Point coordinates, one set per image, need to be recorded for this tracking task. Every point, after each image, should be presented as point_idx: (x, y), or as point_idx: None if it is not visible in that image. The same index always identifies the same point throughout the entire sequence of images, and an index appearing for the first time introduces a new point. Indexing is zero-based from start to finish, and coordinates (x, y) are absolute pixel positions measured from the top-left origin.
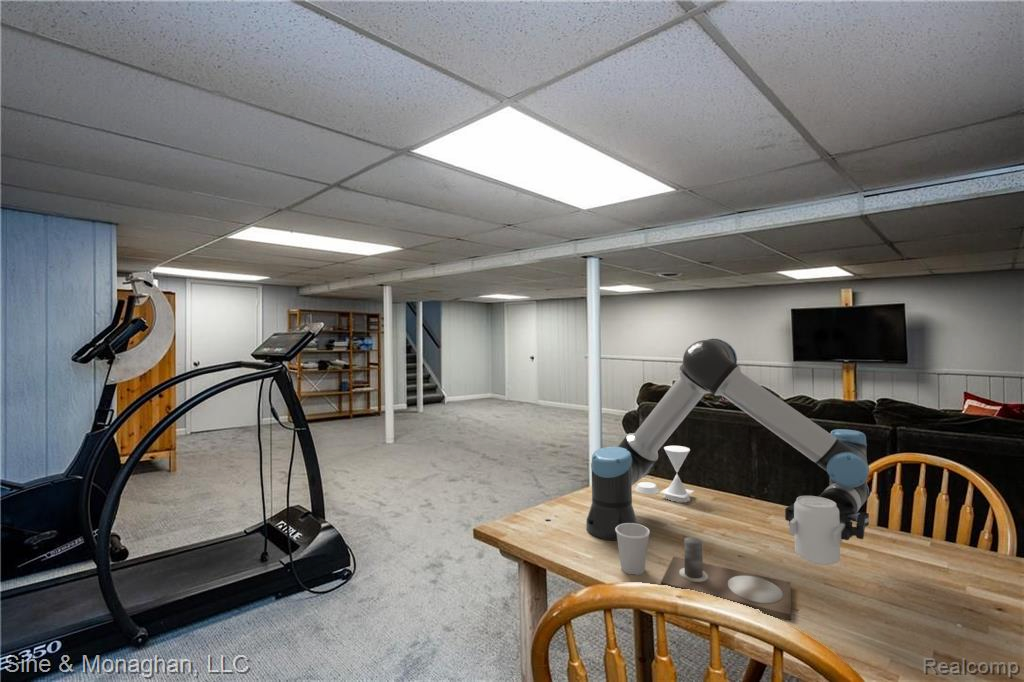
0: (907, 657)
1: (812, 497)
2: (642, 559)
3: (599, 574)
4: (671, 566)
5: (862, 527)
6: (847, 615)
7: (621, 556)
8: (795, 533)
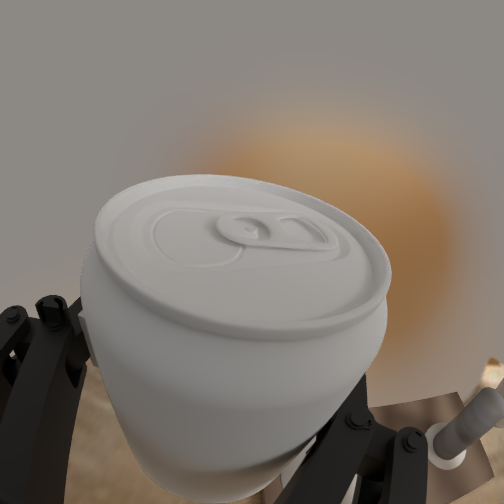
0: None
1: (287, 329)
2: (499, 391)
3: (500, 375)
4: (478, 443)
5: (11, 307)
6: (138, 478)
7: None
8: None
